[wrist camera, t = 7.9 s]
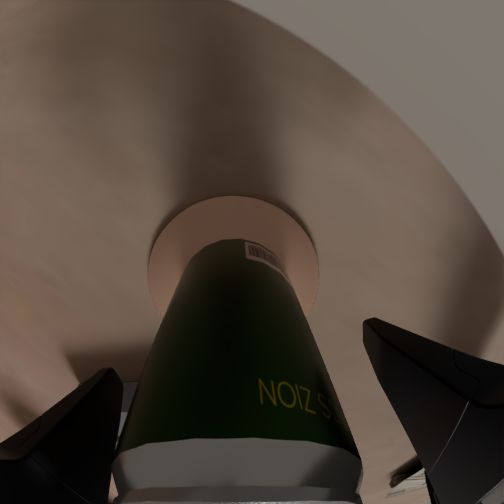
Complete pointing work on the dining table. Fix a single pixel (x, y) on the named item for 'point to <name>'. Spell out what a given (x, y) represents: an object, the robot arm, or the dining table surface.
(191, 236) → the coaster
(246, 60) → the dining table surface
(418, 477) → the newspaper
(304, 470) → the beer can
